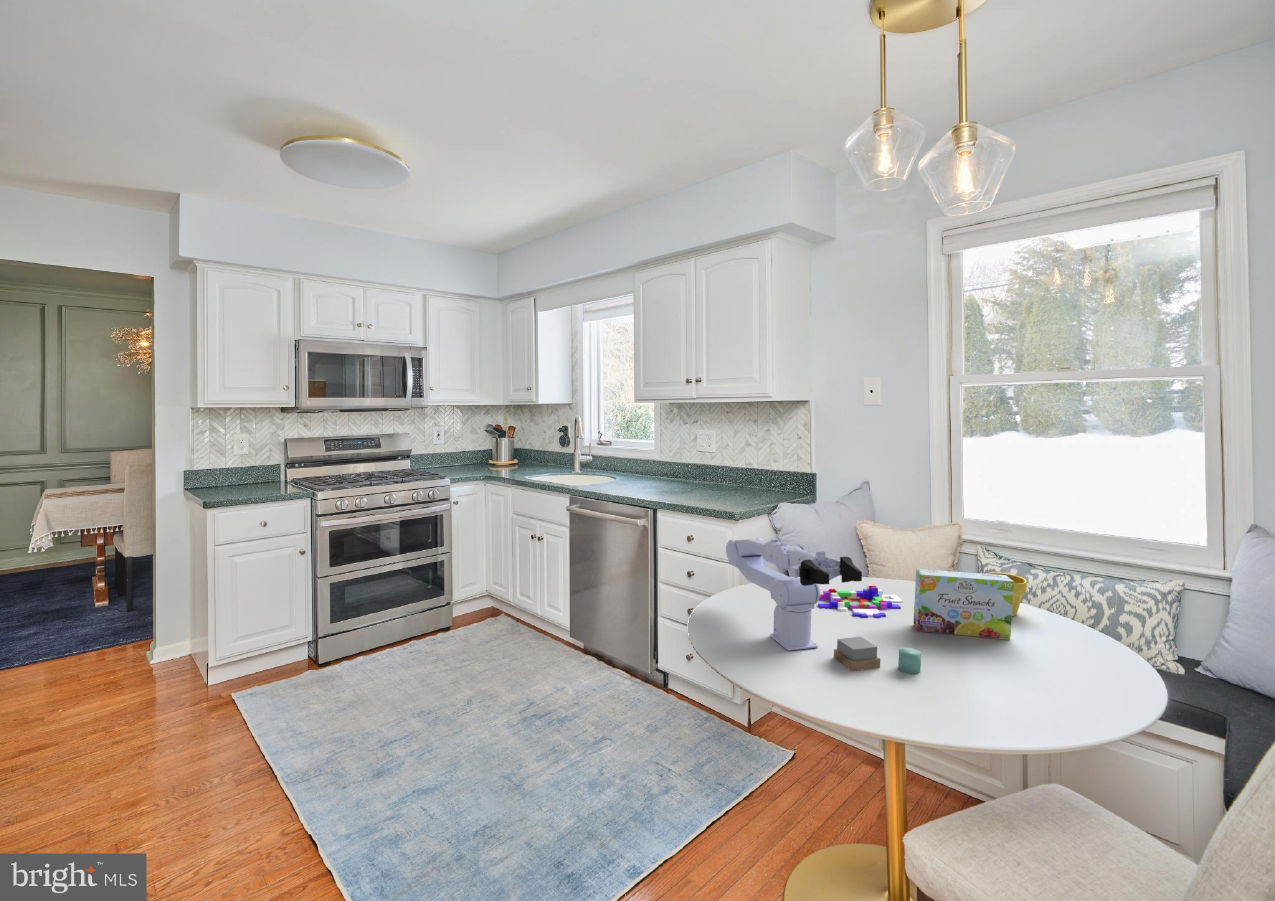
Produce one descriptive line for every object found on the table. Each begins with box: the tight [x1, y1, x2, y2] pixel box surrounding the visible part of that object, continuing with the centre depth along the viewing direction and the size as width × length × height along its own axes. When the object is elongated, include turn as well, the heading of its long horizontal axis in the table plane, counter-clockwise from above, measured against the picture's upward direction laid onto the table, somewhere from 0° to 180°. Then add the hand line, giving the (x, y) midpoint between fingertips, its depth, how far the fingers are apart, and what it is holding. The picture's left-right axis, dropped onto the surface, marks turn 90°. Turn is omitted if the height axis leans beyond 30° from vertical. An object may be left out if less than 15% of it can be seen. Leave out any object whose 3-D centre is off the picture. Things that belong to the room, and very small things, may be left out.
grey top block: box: [836, 636, 878, 661], centre depth 137 cm, size 6×6×2 cm
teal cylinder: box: [897, 647, 922, 675], centre depth 133 cm, size 4×4×4 cm
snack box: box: [913, 568, 1014, 641], centre depth 154 cm, size 21×6×15 cm, turn 76°
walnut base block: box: [833, 648, 881, 672], centre depth 137 cm, size 7×7×2 cm
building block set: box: [817, 584, 904, 619], centre depth 175 cm, size 25×20×4 cm
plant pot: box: [985, 572, 1028, 617], centre depth 169 cm, size 10×10×10 cm
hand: (844, 577), depth 127 cm, fingers open, 7 cm apart
